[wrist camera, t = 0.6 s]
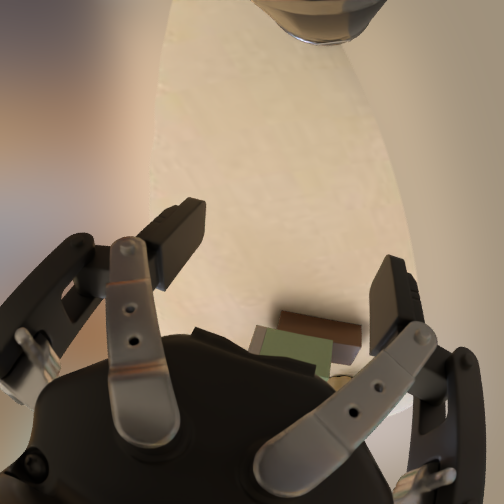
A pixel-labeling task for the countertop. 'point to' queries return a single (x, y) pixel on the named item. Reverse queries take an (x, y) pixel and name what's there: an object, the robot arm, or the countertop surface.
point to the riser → (326, 334)
